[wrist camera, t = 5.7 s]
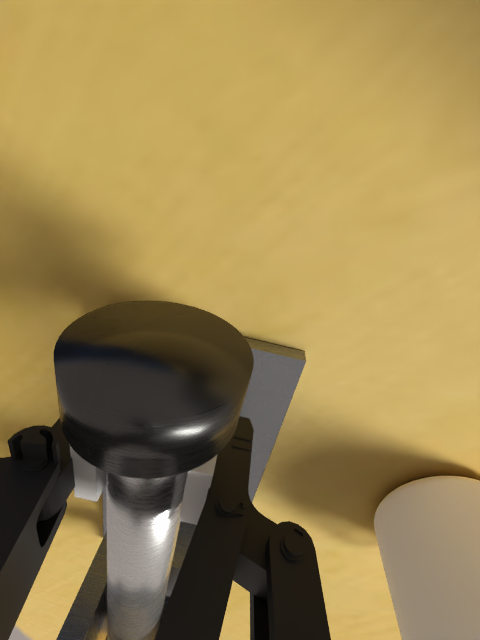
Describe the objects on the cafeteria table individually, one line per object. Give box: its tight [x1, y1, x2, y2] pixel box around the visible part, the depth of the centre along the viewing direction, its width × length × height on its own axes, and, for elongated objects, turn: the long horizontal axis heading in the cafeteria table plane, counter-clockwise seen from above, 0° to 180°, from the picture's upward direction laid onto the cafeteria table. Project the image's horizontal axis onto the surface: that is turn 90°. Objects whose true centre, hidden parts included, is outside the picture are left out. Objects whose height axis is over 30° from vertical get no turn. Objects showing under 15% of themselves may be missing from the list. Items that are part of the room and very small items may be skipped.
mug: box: [374, 476, 480, 640], centre depth 20 cm, size 12×10×9 cm
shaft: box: [54, 301, 254, 640], centre depth 14 cm, size 23×5×5 cm, turn 168°
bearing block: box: [56, 305, 306, 640], centre depth 19 cm, size 27×12×14 cm, turn 168°
